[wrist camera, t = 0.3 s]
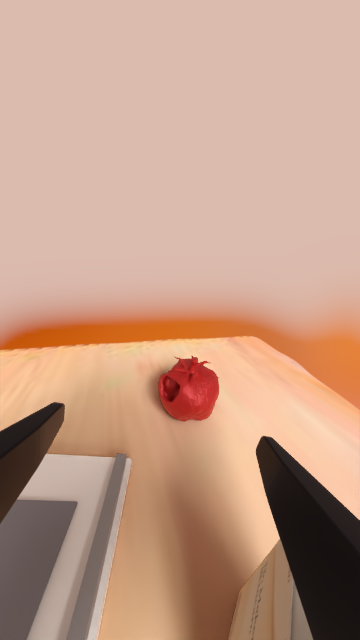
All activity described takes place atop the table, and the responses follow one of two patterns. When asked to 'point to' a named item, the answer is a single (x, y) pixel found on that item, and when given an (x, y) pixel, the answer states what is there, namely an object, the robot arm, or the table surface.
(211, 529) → the table surface
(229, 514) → the table surface
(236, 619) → the skincare box
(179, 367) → the pomegranate
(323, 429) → the table surface
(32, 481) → the stand
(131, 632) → the table surface
